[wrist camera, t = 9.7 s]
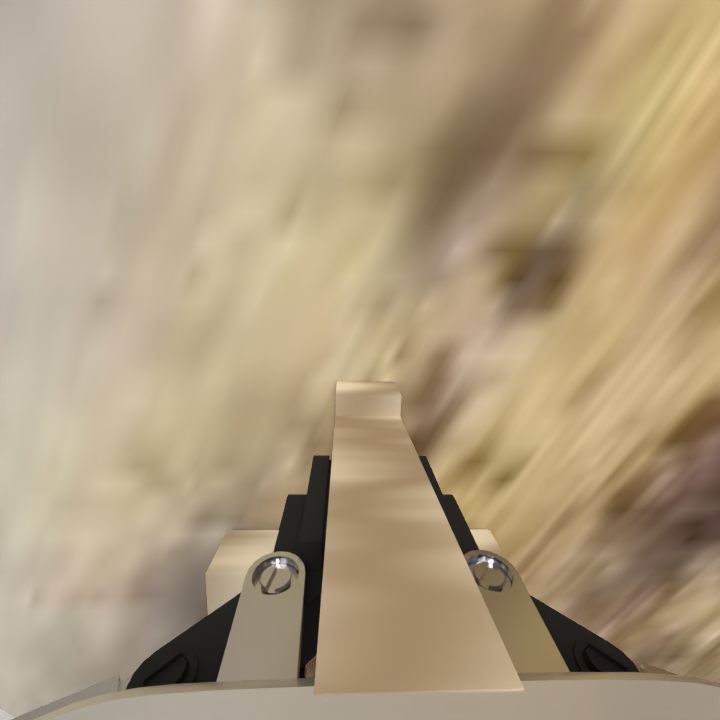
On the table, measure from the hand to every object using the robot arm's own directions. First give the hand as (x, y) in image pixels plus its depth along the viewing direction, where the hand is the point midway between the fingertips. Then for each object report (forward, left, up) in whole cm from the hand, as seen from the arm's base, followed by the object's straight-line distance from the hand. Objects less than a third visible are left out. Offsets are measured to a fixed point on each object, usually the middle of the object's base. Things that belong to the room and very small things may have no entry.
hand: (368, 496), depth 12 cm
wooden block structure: (0, +2, -3) cm, 4 cm away
